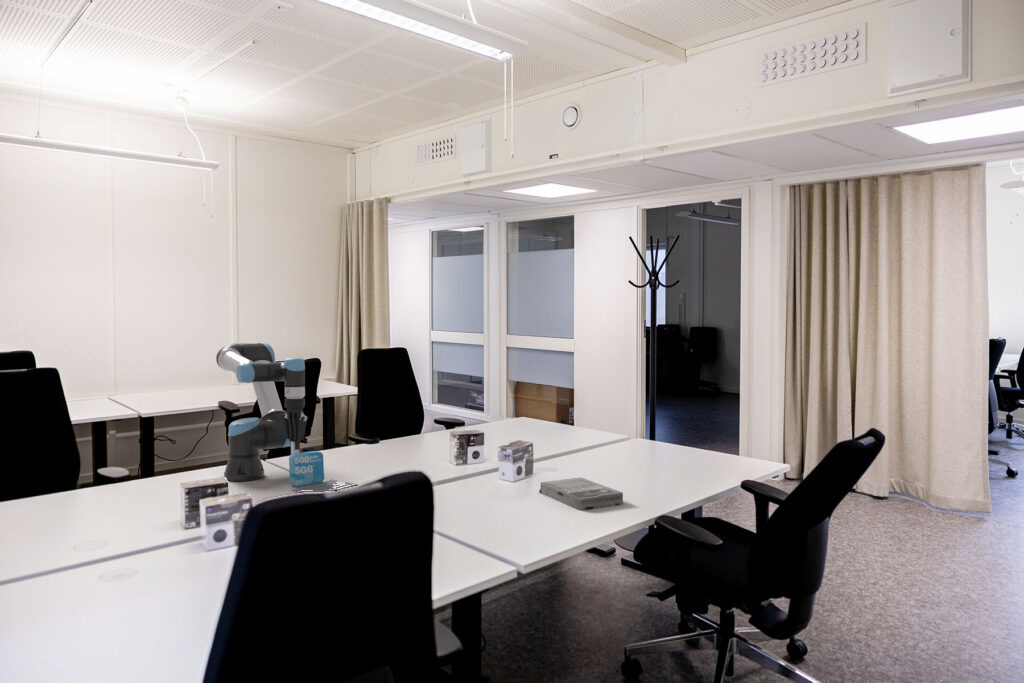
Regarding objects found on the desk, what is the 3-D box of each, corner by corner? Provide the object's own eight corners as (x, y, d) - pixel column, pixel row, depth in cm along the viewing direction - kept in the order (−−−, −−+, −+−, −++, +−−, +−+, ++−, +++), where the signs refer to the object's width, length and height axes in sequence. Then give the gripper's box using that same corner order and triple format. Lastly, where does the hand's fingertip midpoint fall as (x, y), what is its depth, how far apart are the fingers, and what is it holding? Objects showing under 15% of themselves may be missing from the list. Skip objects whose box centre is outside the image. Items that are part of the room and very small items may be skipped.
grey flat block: (580, 488, 264) (580, 477, 264) (623, 505, 240) (624, 493, 240) (539, 494, 255) (539, 482, 255) (580, 512, 231) (580, 499, 231)
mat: (291, 490, 255) (291, 489, 255) (332, 480, 272) (332, 479, 272) (317, 496, 247) (317, 495, 247) (357, 485, 264) (357, 484, 264)
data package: (293, 487, 260) (292, 455, 260) (289, 485, 263) (288, 453, 263) (324, 482, 266) (323, 451, 266) (320, 480, 270) (319, 450, 270)
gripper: (275, 397, 268) (276, 457, 268) (298, 399, 261) (298, 461, 261) (291, 395, 274) (291, 454, 275) (313, 397, 267) (314, 458, 268)
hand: (295, 457), depth 268 cm, fingers closed
